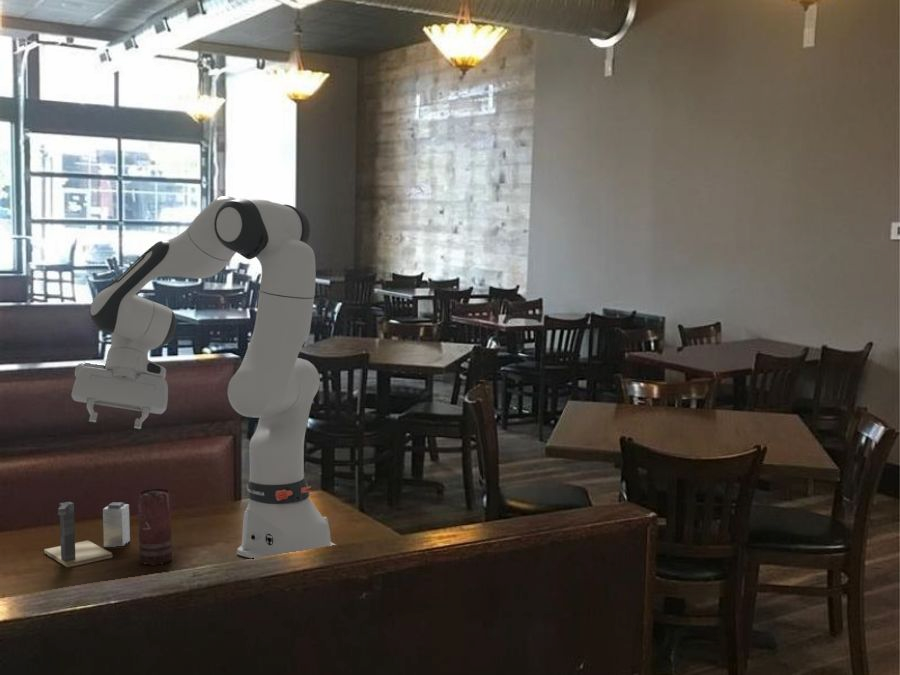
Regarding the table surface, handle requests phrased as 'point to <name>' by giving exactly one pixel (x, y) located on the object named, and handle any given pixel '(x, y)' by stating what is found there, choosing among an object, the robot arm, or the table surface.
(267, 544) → the robot arm
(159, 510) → the can
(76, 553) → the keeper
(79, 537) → the table surface
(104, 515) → the grey square pillar
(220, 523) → the table surface
